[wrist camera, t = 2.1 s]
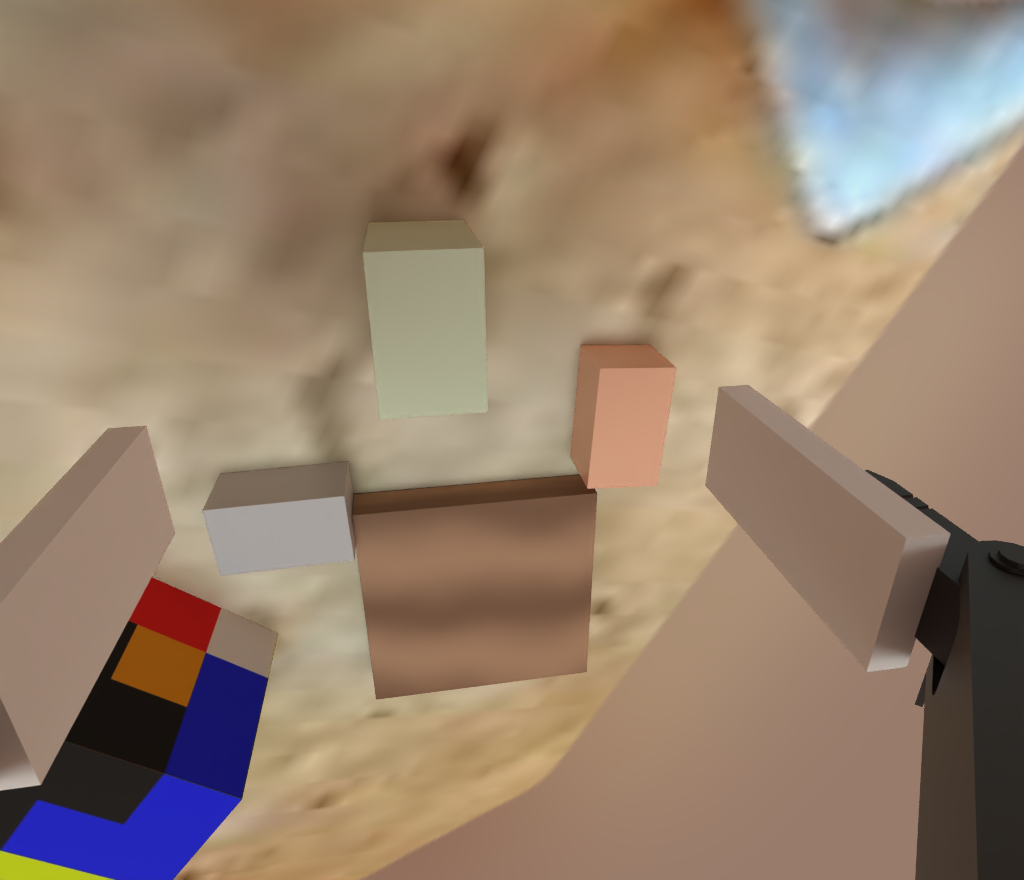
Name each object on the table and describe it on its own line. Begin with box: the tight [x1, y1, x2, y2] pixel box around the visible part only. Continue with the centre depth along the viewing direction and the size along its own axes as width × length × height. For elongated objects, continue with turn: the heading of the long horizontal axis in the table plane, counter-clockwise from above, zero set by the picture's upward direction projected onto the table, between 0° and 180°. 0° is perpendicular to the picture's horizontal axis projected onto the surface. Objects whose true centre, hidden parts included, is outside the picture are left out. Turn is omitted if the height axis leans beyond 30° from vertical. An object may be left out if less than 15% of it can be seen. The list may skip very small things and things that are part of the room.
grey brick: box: [203, 461, 356, 576], centre depth 31 cm, size 6×4×4 cm, turn 91°
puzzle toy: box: [0, 577, 278, 880], centre depth 31 cm, size 10×10×10 cm
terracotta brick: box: [570, 345, 676, 489], centre depth 32 cm, size 6×4×4 cm, turn 178°
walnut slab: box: [352, 475, 597, 699], centre depth 36 cm, size 12×12×2 cm
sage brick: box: [363, 220, 488, 420], centre depth 26 cm, size 6×4×7 cm, turn 1°
